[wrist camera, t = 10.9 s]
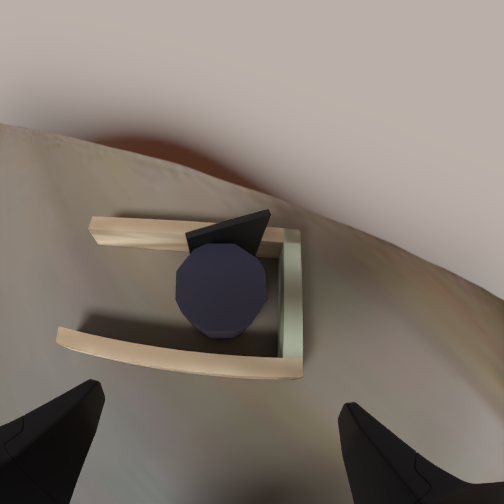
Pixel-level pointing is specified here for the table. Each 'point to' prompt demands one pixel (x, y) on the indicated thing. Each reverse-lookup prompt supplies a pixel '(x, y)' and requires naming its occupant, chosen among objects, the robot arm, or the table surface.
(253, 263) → the dark cylinder with backplate
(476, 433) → the table surface
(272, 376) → the channel
